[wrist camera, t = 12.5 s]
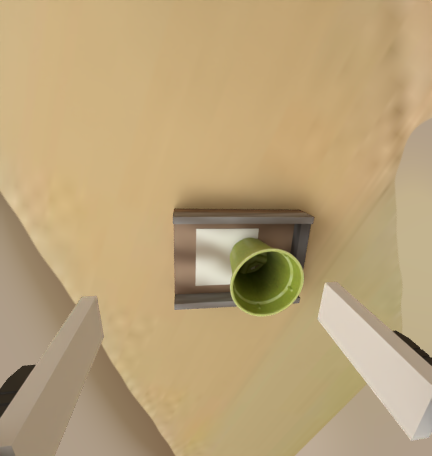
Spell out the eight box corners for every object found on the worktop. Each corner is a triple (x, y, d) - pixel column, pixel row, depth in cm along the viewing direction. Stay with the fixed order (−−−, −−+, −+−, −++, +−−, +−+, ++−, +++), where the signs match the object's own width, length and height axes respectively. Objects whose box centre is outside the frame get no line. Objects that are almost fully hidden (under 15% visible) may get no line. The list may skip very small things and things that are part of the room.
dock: (174, 208, 35) (172, 216, 31) (299, 209, 38) (314, 217, 34) (175, 292, 39) (174, 309, 35) (287, 287, 42) (299, 303, 38)
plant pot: (261, 215, 35) (286, 234, 27) (286, 262, 38) (314, 292, 30) (208, 246, 35) (216, 275, 27) (236, 291, 38) (251, 328, 30)
